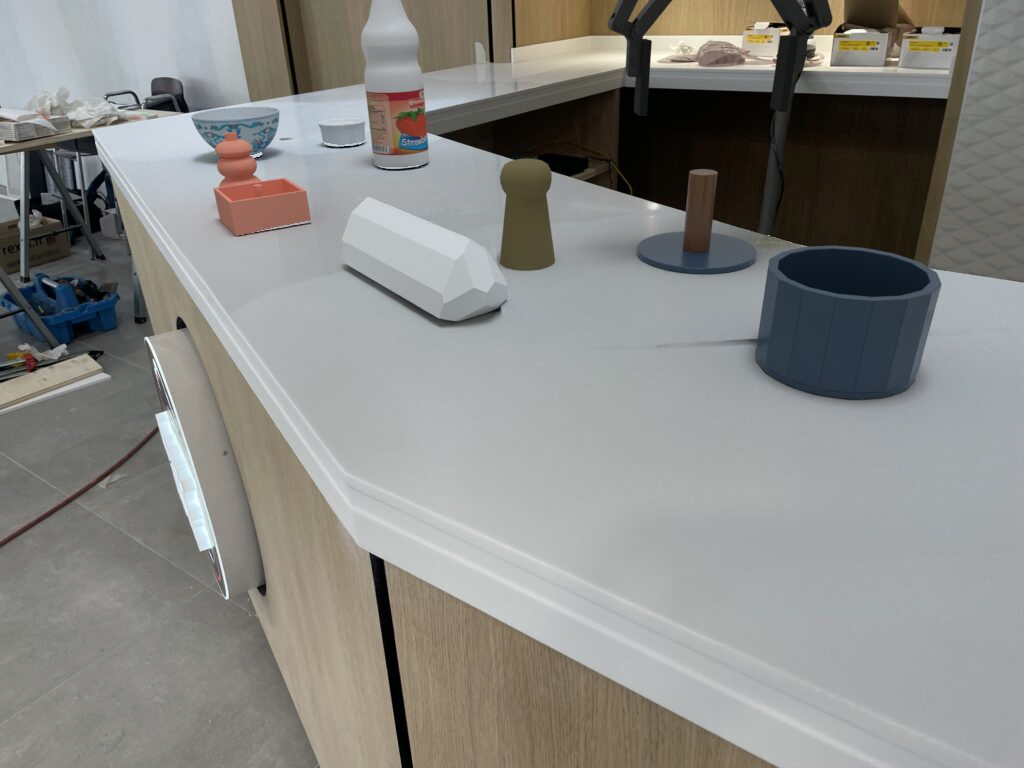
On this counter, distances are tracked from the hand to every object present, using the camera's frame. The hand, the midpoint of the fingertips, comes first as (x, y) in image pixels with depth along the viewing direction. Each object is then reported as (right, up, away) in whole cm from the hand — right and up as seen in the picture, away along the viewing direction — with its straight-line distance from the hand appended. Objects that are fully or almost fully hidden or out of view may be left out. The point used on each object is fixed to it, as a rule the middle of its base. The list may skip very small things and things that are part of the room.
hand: (709, 112), depth 71 cm
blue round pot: (+6, -25, -15) cm, 29 cm away
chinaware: (-69, +15, +63) cm, 95 cm away
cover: (0, -13, +7) cm, 14 cm away
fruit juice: (-38, +11, +54) cm, 67 cm away
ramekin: (-52, +20, +72) cm, 91 cm away
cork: (-18, -14, +7) cm, 23 cm away
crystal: (-28, -17, +2) cm, 33 cm away
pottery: (-54, -4, +28) cm, 61 cm away
